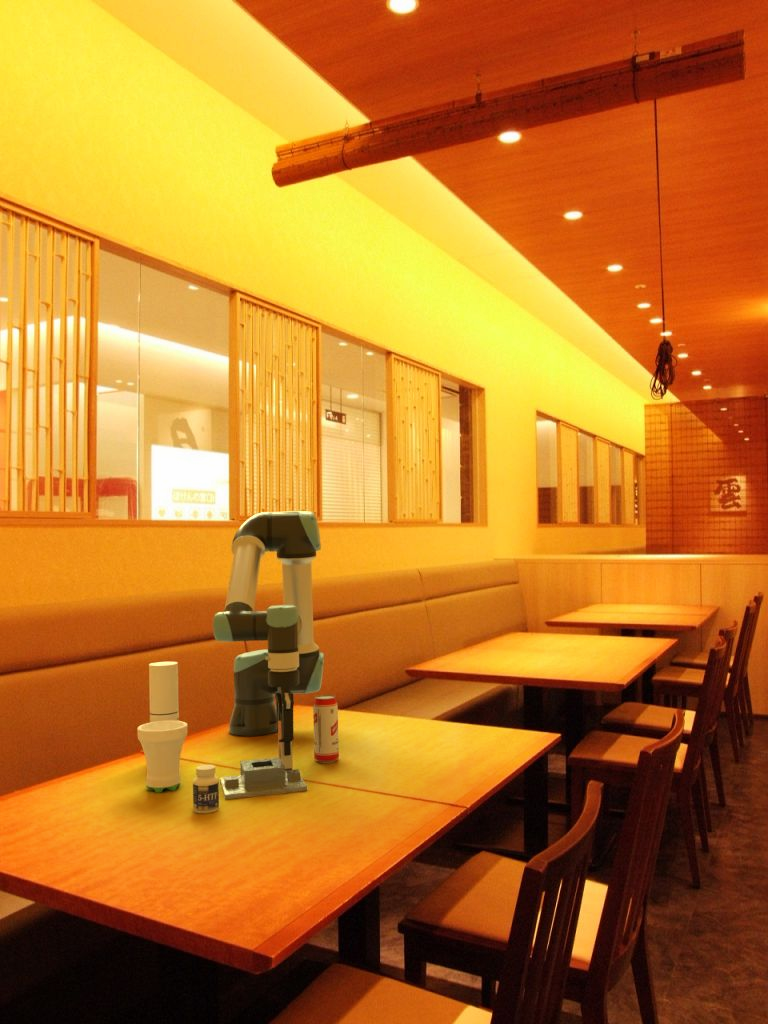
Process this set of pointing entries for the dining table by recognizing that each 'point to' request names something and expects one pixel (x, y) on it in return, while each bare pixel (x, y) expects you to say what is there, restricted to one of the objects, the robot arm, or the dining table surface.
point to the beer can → (326, 729)
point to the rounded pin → (280, 742)
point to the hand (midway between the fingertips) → (285, 765)
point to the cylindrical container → (163, 691)
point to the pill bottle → (205, 790)
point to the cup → (162, 753)
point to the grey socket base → (262, 779)
